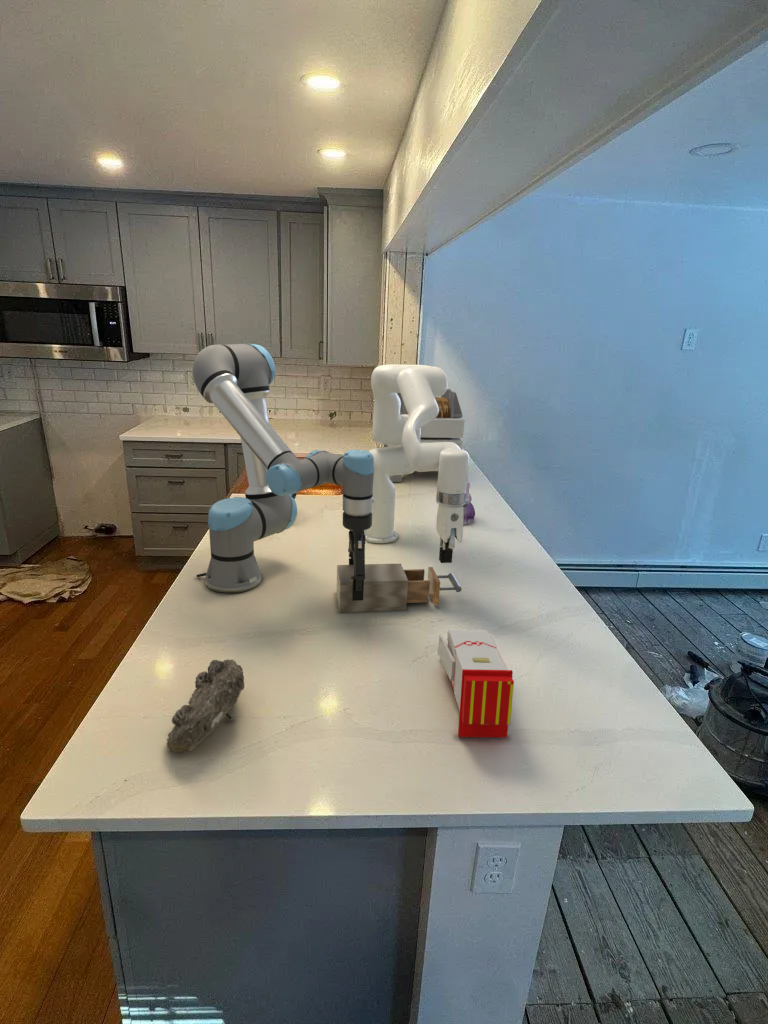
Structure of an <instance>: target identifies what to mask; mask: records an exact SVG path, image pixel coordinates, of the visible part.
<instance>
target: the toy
mask: <svg viewBox="0 0 768 1024" xmlns="http://www.w3.org/2000/svg"><path fill="white" fill-rule="evenodd" d="M446 640H447V643H446V641H445V639H444V636H443V635H442V634H439V637H438V646H437V656H438V657H439V659H440V661H441V663H442V666H443V668H444V670H445V672H446V674H447V677H448V679H449V681H450V684H451V687H452V690H453V693H454V697H455V701H456V705H457V708H458V711H459V714H458V715H459V716H458V730H457V731H458V732H457V737H458V738H508V731H509V726H510V725H511V717H512V707H513V697H514V696H513V695H514V684H515V680H514V679H513V673H514V671H513V670H512V669H508V667H507V665H506V662H505V661H504V659H503V658H502V655H501V653H500V651H499V649H498V647H497V643H496V639H495V637H494V635H493V634H491V632H490V631H489V629H467V628H466V629H465V628H463V629H461V628H460V629H459V628H448V630H447V639H446Z"/></svg>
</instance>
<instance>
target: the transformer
mask: <svg viewBox="0 0 768 1024" xmlns="http://www.w3.org/2000/svg"><path fill="white" fill-rule="evenodd" d="M397 395H398V396H399V398H400V401H401V409H400V415H403V414H408V413H407V410H406V407H405V404H404V401H403V399H402V396H401V393H397ZM435 400H436V403H437V405H438V408H439V413H438V415H437V417H436V418H435V419H434V420H433V421H432V422H430V423H429V424H427V425H425V426H423V427H421V437H420V443H431V442H453V443H455V444H457V445H458V447H459V448H460V449H462V450H463V442H464V441H463V440H462V439H463V438H464V431H465V430H464V429H465V419H464V418H463V411H462V408H461V405H460V402H459V398H458V395H457V392H455V391H453V390H452V389H451V388H447V390H446V392H445V394H444V395H442V396H438V397H435ZM398 446H402V444H383V447H398ZM389 479H390V480H391V482H392V483H402V482H403V475H394V476H389Z"/></svg>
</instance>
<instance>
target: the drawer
mask: <svg viewBox="0 0 768 1024" xmlns="http://www.w3.org/2000/svg"><path fill="white" fill-rule="evenodd" d="M403 570H404V572H405V574H406V577H407V579H408V589H407V604H415V603H416V604H417V603H419V604H420V603H429V601H430V599H431V601H432V603H433V605H439V604H440V594H441V593H440V592H441V591H455V593H460V592H462V586H461V585H460V583H459V581H458V579H457V578H456V576H455V575H454V573H453V572H449V573H448V574H447V575H446V574H445V575H444V574H442V575H441V574H440V575H438V574H437V573H436V571H435V569H434V567H433V566H428V569H427V578H426V579H427V580H425V571H426V570H425V569H424V568H417V569H415V568H414V569H413V568H412V569H403ZM440 579H448V580H449V582H450V584H451V587H449V586H448V587H441V580H440Z"/></svg>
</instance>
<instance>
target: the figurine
mask: <svg viewBox="0 0 768 1024" xmlns="http://www.w3.org/2000/svg"><path fill="white" fill-rule="evenodd" d="M470 488H471V482H470V481H467V488H466V499H465V505H463V526H466V525H470V524H472V523H473V522H474V520H475V516H476V510H475V509H476V508H475V507H474V505H473V503H472V500H473V498H472V495H471V493H470Z"/></svg>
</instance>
